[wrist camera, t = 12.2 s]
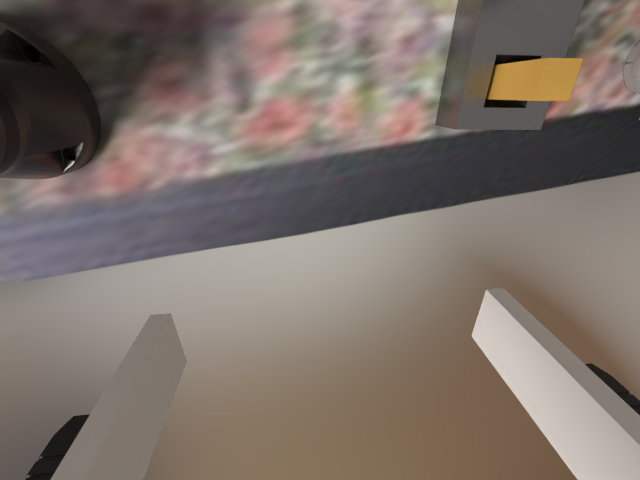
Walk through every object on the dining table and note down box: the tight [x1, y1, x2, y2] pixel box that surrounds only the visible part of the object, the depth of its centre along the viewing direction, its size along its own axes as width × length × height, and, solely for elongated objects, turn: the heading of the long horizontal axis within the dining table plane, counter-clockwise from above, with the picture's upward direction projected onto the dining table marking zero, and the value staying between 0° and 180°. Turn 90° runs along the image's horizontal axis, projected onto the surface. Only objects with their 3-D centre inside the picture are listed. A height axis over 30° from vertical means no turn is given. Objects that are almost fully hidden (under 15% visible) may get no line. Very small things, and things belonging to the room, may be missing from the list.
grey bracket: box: [435, 0, 585, 130], centre depth 26 cm, size 18×15×14 cm
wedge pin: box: [486, 58, 583, 101], centre depth 29 cm, size 3×3×11 cm
